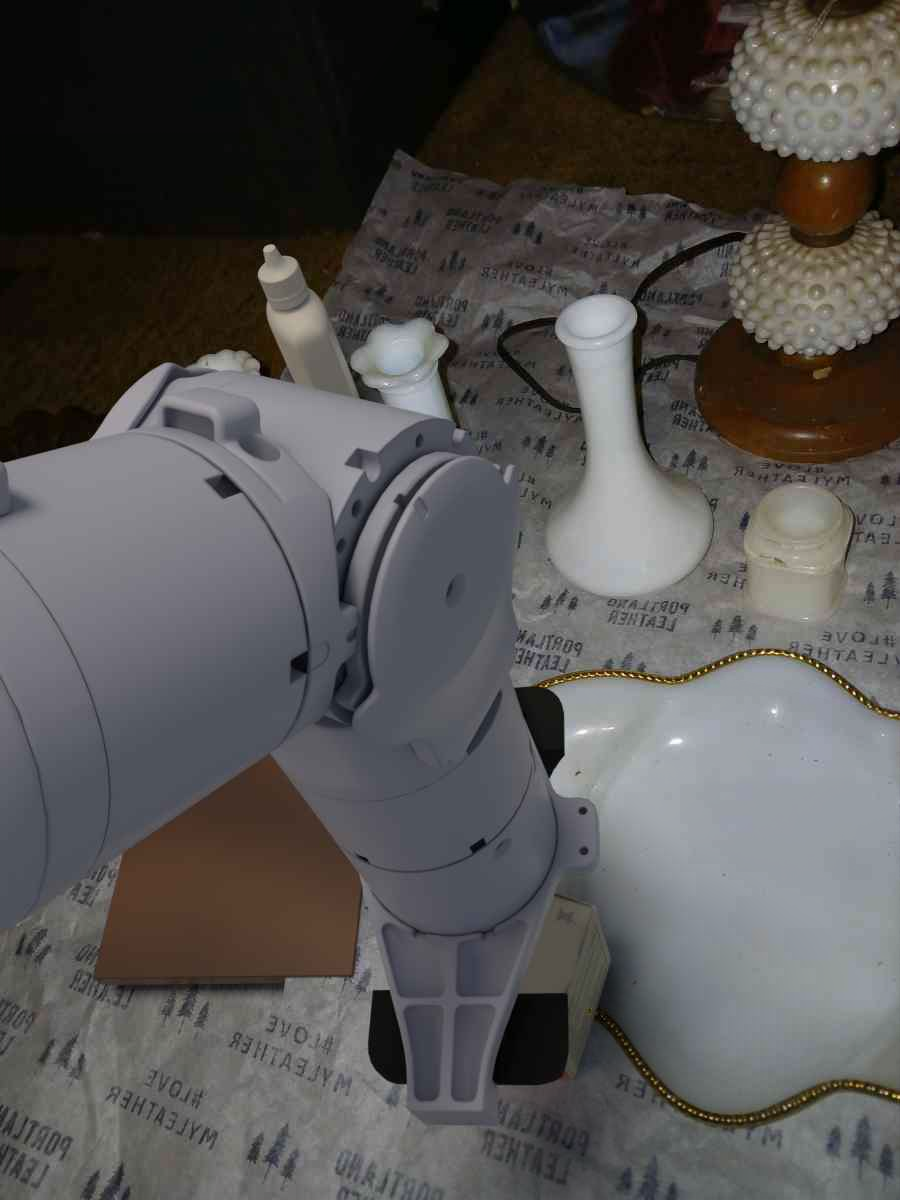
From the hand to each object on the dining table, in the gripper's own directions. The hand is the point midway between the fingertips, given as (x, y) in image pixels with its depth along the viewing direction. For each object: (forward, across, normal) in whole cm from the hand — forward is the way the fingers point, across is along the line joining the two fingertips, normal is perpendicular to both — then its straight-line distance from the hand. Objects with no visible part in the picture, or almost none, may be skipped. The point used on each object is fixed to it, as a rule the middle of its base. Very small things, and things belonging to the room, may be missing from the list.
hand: (512, 941), depth 38 cm
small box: (+8, 0, 0) cm, 8 cm away
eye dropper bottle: (+8, +38, +14) cm, 41 cm away
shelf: (+8, +8, +14) cm, 18 cm away
